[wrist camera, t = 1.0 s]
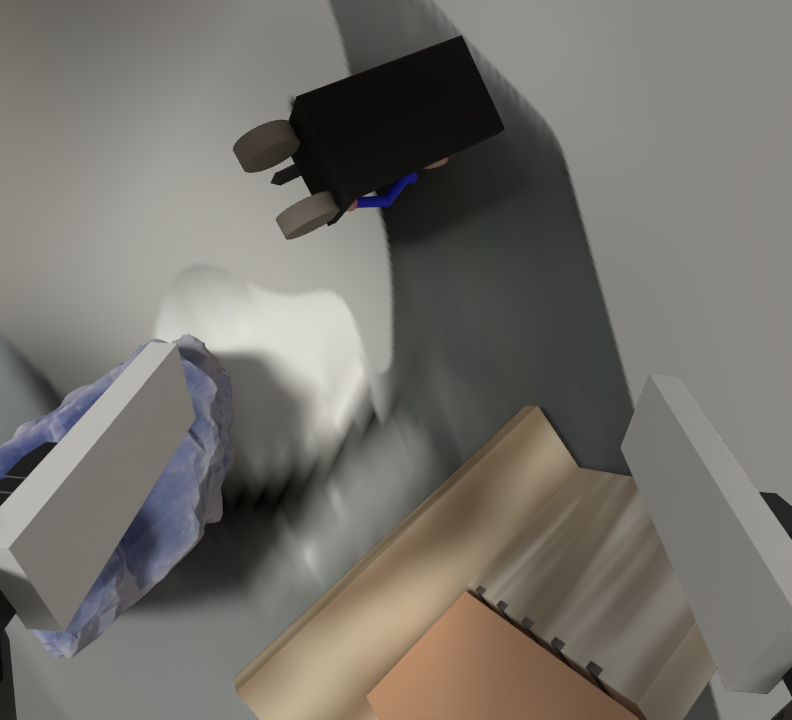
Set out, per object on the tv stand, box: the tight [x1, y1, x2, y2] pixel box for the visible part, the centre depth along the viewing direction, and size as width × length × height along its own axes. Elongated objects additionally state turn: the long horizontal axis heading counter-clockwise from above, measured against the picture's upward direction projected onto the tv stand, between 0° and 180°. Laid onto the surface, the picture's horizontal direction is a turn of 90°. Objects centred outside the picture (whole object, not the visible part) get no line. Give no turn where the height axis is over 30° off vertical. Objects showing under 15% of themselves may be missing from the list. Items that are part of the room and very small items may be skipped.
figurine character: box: [233, 35, 505, 240], centre depth 31 cm, size 7×8×15 cm
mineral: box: [0, 334, 235, 659], centre depth 24 cm, size 15×10×10 cm
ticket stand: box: [235, 406, 717, 720], centre depth 27 cm, size 14×26×16 cm, turn 127°
